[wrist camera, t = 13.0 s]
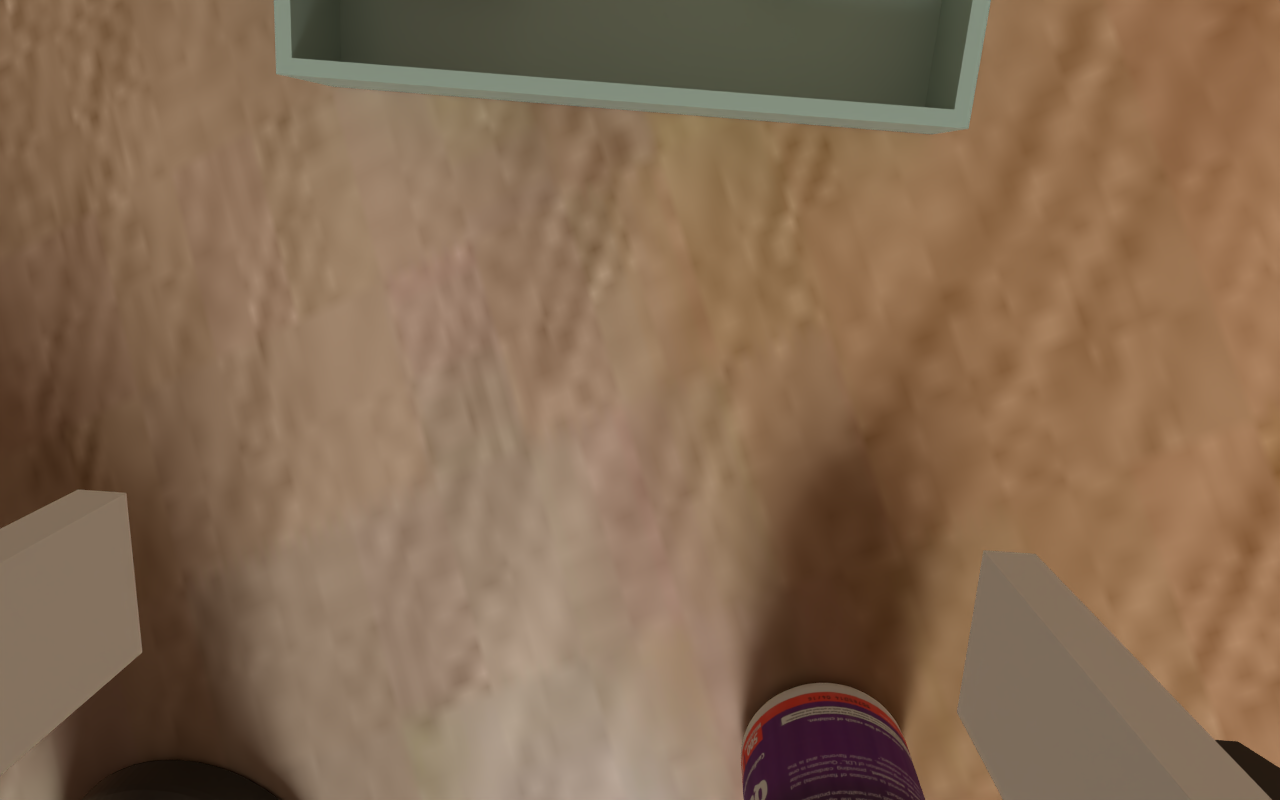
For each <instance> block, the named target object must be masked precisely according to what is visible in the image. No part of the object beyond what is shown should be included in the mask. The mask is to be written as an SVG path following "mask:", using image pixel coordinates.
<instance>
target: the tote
mask: <svg viewBox="0 0 1280 800" xmlns="http://www.w3.org/2000/svg"><path fill="white" fill-rule="evenodd" d="M990 2H991V0H274V17H275V48H276V74H279V75H283V76H288V77H292V78H297V79H301V80H306V81H310V82H315V83H319V84H324V85H328V86H333V87H345V88H357V89H370V90H382V91H395V92H407V93H420V94H433V95H445V96H458V97H470V98H483V99H495V100H508V101H521V102H533V103H546V104H558V105H571V106H583V107H596V108H609V109H621V110H634V111H646V112H659V113H671V114H684V115H696V116H709V117H722V118H734V119H747V120H759V121H772V122H784V123H797V124H810V125H822V126H835V127H847V128H860V129H872V130H885V131H897V132H910V133H923V134H937V133H944V132H950V131H957V130H964V129H968V128H969V123H970V117H971V111H972V105H973V100H974V94H975V88H976V82H977V77H978V71H979V65H980V59H981V54H982V48H983V42H984V36H985V31H986V25H987V19H988V13H989V8H990Z"/></svg>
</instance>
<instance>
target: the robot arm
mask: <svg viewBox="0 0 1280 800" xmlns="http://www.w3.org/2000/svg"><path fill="white" fill-rule="evenodd" d="M141 653H142V643H141V633H140V623H139V613H138V603H137V593H136V584H135V574H134V564H133V554H132V544H131V534H130V524H129V514H128V504H127V494H126V493H123V492H108V491H93V490H76V491H74V492H72V493H70V494H68V495H66V496H64V497H62V498H60V499H58V500H56V501H54V502H52V503H50V504H48V505H46V506H44V507H42V508H40V509H38V510H36V511H34V512H32V513H30V514H28V515H26V516H24V517H22V518H21V519H19V520H17V521H15V522H13V523H11V524H9V525H7V526H5V527H3V528H1V529H0V776H1V775H2V774H3V773H4V772H5V771H6V770H8V769H9V768H10V767H11V766H12V765H13V764H14V763H16V762H17V761H18V760H19V759H20V758H21V757H22V756H24V755H25V754H26V753H27V752H28V751H29V750H31V749H32V748H33V747H34V746H35V745H36V744H37V743H39V742H40V741H41V740H42V739H43V738H44V737H46V736H47V735H48V734H49V733H50V732H51V731H52V730H54V729H55V728H56V727H57V726H58V725H59V724H60V723H62V722H63V721H64V720H65V719H66V718H67V717H69V716H70V715H71V714H72V713H73V712H74V711H75V710H77V709H78V708H79V707H80V706H81V705H82V704H84V703H85V702H86V701H87V700H88V699H89V698H90V697H92V696H93V695H94V694H95V693H96V692H97V691H98V690H100V689H101V688H102V687H103V686H104V685H105V684H107V683H108V682H109V681H110V680H111V679H112V678H113V677H115V676H116V675H117V674H118V673H119V672H120V671H122V670H123V669H124V668H125V667H126V666H127V665H128V664H130V663H131V662H132V661H133V660H134V659H135V658H136V657H138V656H139V655H140V654H141ZM957 713H958V715H959V717H960V719H961V720H962V722H963V724H964V726H965V728H966V730H967V732H968V734H969V736H970V738H971V739H972V741H973V743H974V745H975V747H976V749H977V751H978V753H979V755H980V757H981V758H982V760H983V762H984V764H985V766H986V768H987V770H988V772H989V774H990V776H991V778H992V779H993V781H994V783H995V785H996V787H997V789H998V791H999V793H1000V795H1001V797H1002V798H1003V800H1280V768H1279V767H1277V766H1276V765H1274V764H1272V763H1271V762H1269V761H1268V760H1266V759H1265V758H1263V757H1261V756H1260V755H1258V754H1257V753H1255V752H1254V751H1252V750H1250V749H1249V748H1247V747H1246V746H1244V745H1243V744H1241V743H1239V742H1236V741H1222V740H1214V739H1213V738H1212V737H1211V736H1210V735H1209V734H1208V733H1207V732H1206V731H1205V730H1204V728H1203V727H1202V726H1201V725H1200V724H1199V723H1198V722H1197V721H1196V720H1195V719H1194V718H1193V717H1192V716H1191V715H1190V714H1189V713H1188V712H1187V711H1186V710H1185V709H1184V708H1183V707H1182V706H1181V705H1180V704H1179V703H1178V702H1177V700H1176V699H1175V698H1174V697H1173V696H1172V695H1171V694H1170V693H1169V692H1168V691H1167V690H1166V689H1165V688H1164V687H1163V686H1162V685H1161V684H1160V683H1159V682H1158V681H1157V680H1156V679H1155V678H1154V677H1153V676H1152V675H1151V673H1150V672H1149V671H1148V670H1147V669H1146V668H1145V667H1144V666H1143V665H1142V664H1141V663H1140V662H1139V661H1138V660H1137V659H1136V658H1135V657H1134V656H1133V655H1132V654H1131V653H1130V652H1129V651H1128V650H1127V649H1126V648H1125V646H1124V645H1123V644H1122V643H1121V642H1120V641H1119V640H1118V639H1117V638H1116V637H1115V636H1114V635H1113V634H1112V633H1111V632H1110V631H1109V630H1108V629H1107V628H1106V627H1105V626H1104V625H1103V624H1102V623H1101V622H1100V621H1099V620H1098V618H1097V617H1096V616H1095V615H1094V614H1093V613H1092V612H1091V611H1090V610H1089V609H1088V608H1087V607H1086V606H1085V605H1084V604H1083V603H1082V602H1081V601H1080V600H1079V599H1078V598H1077V597H1076V596H1075V595H1074V594H1073V593H1072V591H1071V590H1070V589H1069V588H1068V587H1067V586H1066V585H1065V584H1064V583H1063V582H1062V581H1061V580H1060V579H1059V578H1058V577H1057V576H1056V575H1055V574H1054V573H1053V572H1052V571H1051V570H1050V569H1049V568H1048V567H1047V566H1046V565H1045V563H1044V562H1043V561H1042V560H1041V559H1040V558H1039V557H1038V556H1037V555H1036V554H1029V553H1014V552H999V551H983V557H982V563H981V569H980V575H979V581H978V587H977V594H976V600H975V606H974V612H973V618H972V624H971V630H970V636H969V642H968V648H967V654H966V660H965V667H964V673H963V679H962V685H961V691H960V697H959V703H958V709H957ZM82 800H278V799H277V798H276V797H274V796H273V795H272V794H270V793H269V792H268V791H266V790H265V789H263V788H262V787H260V786H259V785H257V784H255V783H253V782H251V781H250V780H248V779H246V778H244V777H242V776H240V775H237V774H235V773H232V772H230V771H227V770H224V769H221V768H218V767H215V766H211V765H207V764H203V763H197V762H191V761H181V760H162V761H152V762H146V763H141V764H137V765H133V766H130V767H127V768H124V769H122V770H120V771H118V772H115V773H114V774H112V775H110V776H108V777H107V778H105V779H104V780H102V781H101V782H100V783H98V784H97V785H96V786H95V787H94V788H93V789H92V790H91V791H90V792H89V793H88V794H87V795H86V796H85V797H84V798H83V799H82Z"/></svg>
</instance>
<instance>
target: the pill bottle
mask: <svg viewBox="0 0 1280 800" xmlns="http://www.w3.org/2000/svg"><path fill="white" fill-rule="evenodd" d="M741 767H742V782H743V795H744V800H925V798H924V795H923V792H922V789H921V786H920V783H919V780H918V777H917V774H916V771H915V768H914V766H913V763H912V760H911V757H910V753H909V750H908V747H907V744H906V742H905V740H904V737H903V735H902V732H901V730H900V728H899V726H898V724H897V722H896V721H895V719H894V718H893V717H892V715H891V714H890V713H889V712H888V711H887V710H886V708H885V707H884V706H882V705H881V704H880V703H879V702H878V701H876V700H875V699H874V698H872V697H871V696H869V695H867V694H865V693H864V692H862V691H859V690H857V689H855V688H852V687H849V686H845V685H840V684H834V683H811V684H805V685H801V686H797V687H794V688H791V689H789V690H786V691H784V692H782V693H780V694H778V695H776V696H774V697H773V698H771V699H770V700H769V701H767V702H766V703H765V704H764V705H763V706H762V707H761V708H760V709H759V710H758V711H757V712H756V714H755V715H754V716H753V718H752V719H751V721H750V723H749V724H748V727H747V729H746V732H745V734H744V738H743V742H742V748H741Z"/></svg>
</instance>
